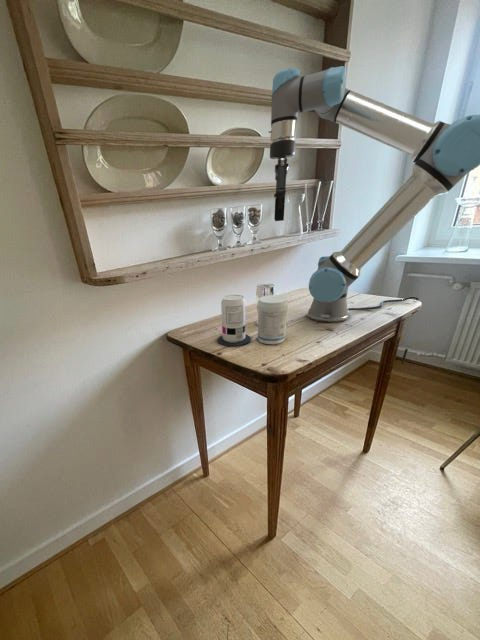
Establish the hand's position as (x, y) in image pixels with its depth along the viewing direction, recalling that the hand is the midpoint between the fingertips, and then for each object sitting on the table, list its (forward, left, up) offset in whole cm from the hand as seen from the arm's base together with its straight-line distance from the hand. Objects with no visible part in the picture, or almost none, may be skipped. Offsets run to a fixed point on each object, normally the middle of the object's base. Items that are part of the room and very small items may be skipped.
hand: (278, 220), depth 102 cm
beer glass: (+3, -2, -37) cm, 37 cm away
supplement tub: (+11, +14, -37) cm, 41 cm away
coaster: (+22, +6, -37) cm, 43 cm away
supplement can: (+22, +6, -36) cm, 43 cm away
